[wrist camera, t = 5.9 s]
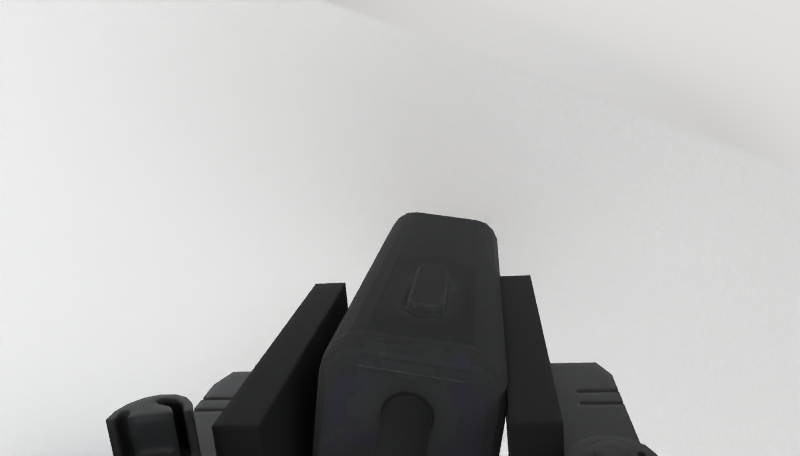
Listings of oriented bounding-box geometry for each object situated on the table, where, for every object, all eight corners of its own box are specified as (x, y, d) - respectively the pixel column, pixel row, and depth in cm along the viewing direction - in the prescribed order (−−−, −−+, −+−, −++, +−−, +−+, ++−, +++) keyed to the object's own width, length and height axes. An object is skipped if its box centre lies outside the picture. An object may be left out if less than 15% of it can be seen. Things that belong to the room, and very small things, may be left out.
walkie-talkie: (479, 363, 20) (469, 1148, 6) (372, 346, 20) (99, 1047, 6) (502, 213, 19) (566, 729, 4) (387, 198, 19) (89, 630, 5)
